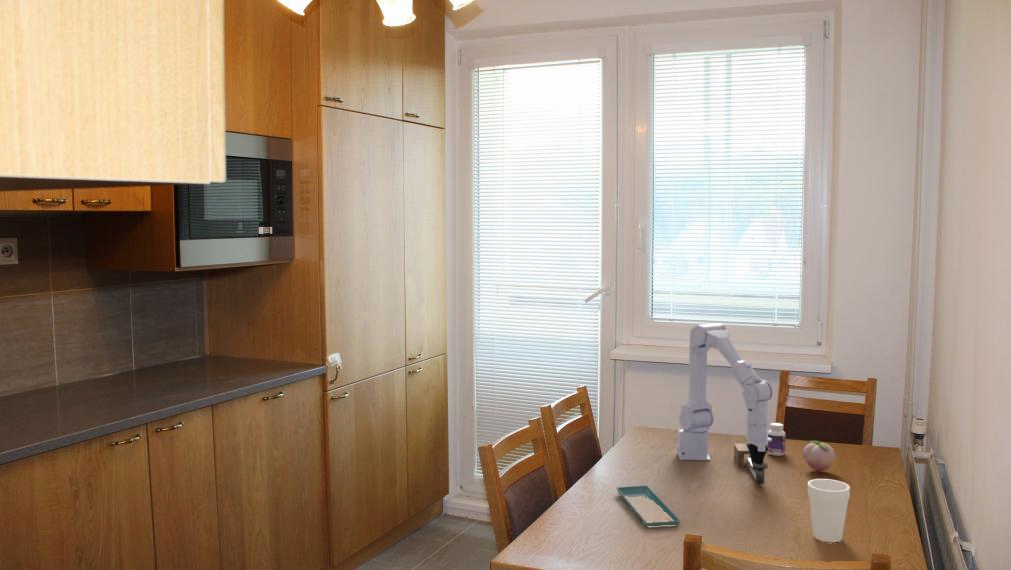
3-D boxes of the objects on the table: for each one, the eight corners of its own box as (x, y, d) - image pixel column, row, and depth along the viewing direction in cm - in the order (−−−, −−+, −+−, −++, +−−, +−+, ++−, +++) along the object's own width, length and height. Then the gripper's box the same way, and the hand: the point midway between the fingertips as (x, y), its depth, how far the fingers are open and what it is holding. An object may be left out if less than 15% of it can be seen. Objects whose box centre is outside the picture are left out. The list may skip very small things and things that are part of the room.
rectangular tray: (681, 528, 202) (681, 519, 202) (645, 531, 201) (645, 521, 201) (647, 493, 228) (647, 485, 228) (615, 495, 227) (615, 487, 227)
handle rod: (753, 484, 230) (754, 465, 230) (743, 465, 248) (743, 448, 247) (768, 485, 230) (768, 466, 229) (757, 466, 247) (757, 448, 247)
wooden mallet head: (738, 466, 250) (738, 450, 250) (734, 458, 258) (734, 443, 258) (760, 467, 249) (760, 451, 249) (755, 459, 257) (755, 444, 257)
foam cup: (799, 531, 199) (800, 479, 198) (836, 529, 199) (837, 477, 198) (817, 547, 189) (819, 492, 188) (856, 545, 190) (857, 490, 189)
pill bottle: (786, 456, 260) (786, 426, 259) (768, 455, 261) (768, 426, 260) (783, 451, 265) (784, 422, 265) (766, 451, 266) (767, 421, 266)
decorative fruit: (841, 474, 242) (842, 441, 241) (820, 478, 239) (820, 444, 238) (818, 465, 250) (819, 433, 249) (797, 469, 247) (798, 436, 246)
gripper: (776, 429, 228) (776, 477, 229) (766, 417, 243) (766, 462, 244) (750, 429, 229) (750, 476, 230) (742, 417, 243) (742, 461, 244)
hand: (757, 469), depth 237 cm, fingers closed, pressing on handle rod
